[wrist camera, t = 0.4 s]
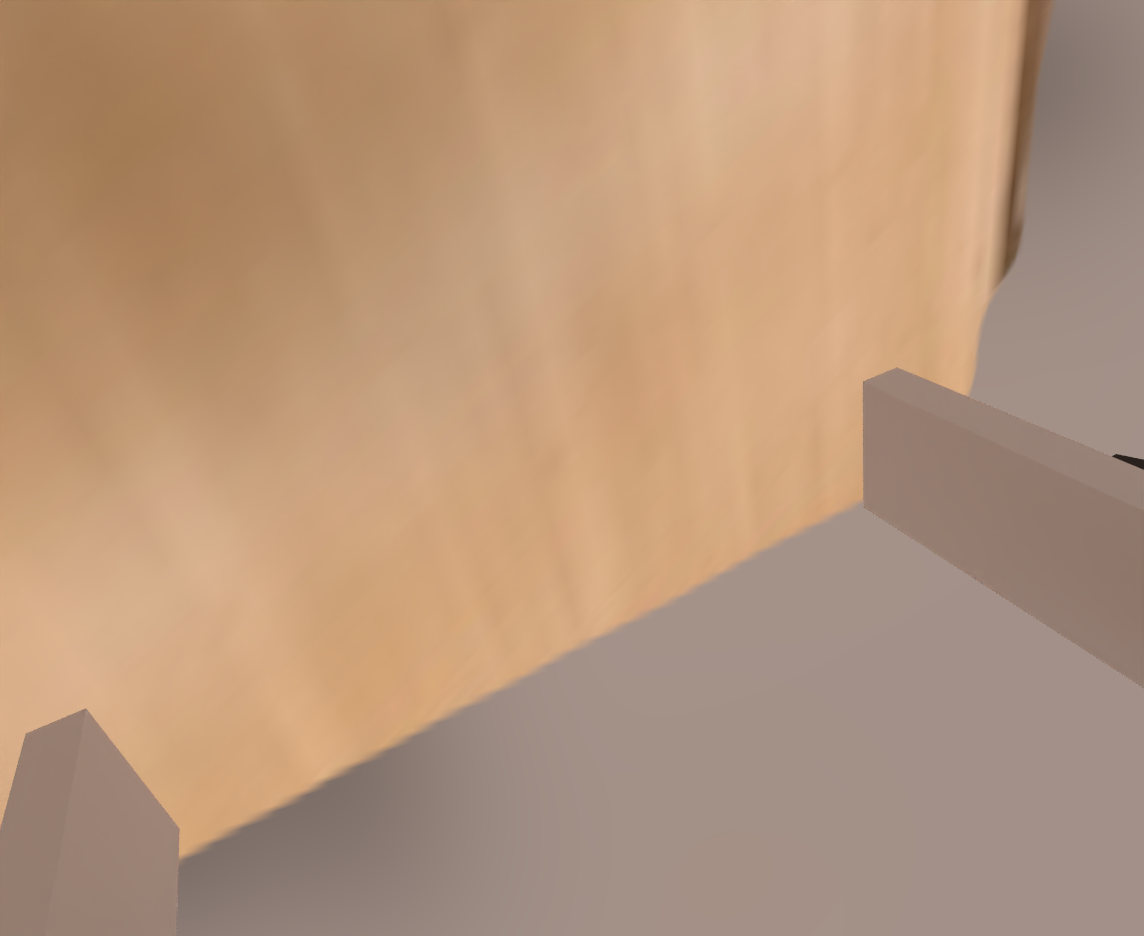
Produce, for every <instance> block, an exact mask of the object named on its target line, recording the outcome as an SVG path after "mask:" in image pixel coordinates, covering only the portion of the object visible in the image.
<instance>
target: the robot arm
mask: <svg viewBox="0 0 1144 936" xmlns="http://www.w3.org/2000/svg"><path fill="white" fill-rule="evenodd" d="M863 503H864V508H866V509H867V510H869V511H870V512H872V513H873V514H875V515H877V516H878V517H880V518H881V519H883V520H884V521H886V522H888V523H889V524H891V525H892V526H894V527H895V528H897V529H898V530H900V531H901V532H903V533H904V534H906V535H907V536H909V537H911V538H912V539H914V540H915V541H917V542H918V543H920V544H921V545H923V546H925V547H926V548H928V549H929V550H931V551H932V552H934V553H935V554H937V555H938V556H940V557H941V558H943V559H945V560H946V561H948V562H949V563H951V564H953V565H954V566H956V567H957V568H958V569H960V570H962V571H963V572H965V573H966V574H968V575H970V576H971V577H972V578H974V579H975V580H977V581H979V582H980V583H982V584H983V585H985V586H986V587H988V588H990V589H991V590H992V591H994V592H996V593H997V594H999V595H1000V596H1002V597H1003V598H1005V599H1006V600H1008V601H1009V602H1011V603H1013V604H1014V605H1016V606H1017V607H1019V608H1020V609H1022V610H1023V611H1025V612H1027V613H1028V614H1030V615H1031V616H1033V617H1035V618H1036V619H1037V620H1039V621H1040V622H1042V623H1043V624H1045V625H1047V626H1048V627H1050V628H1051V629H1053V630H1054V631H1056V632H1057V633H1059V634H1060V635H1062V636H1064V637H1065V638H1067V639H1068V640H1070V641H1072V642H1073V643H1074V644H1076V645H1078V646H1079V647H1081V648H1082V649H1084V650H1085V651H1087V652H1088V653H1090V654H1092V655H1093V656H1095V657H1096V658H1098V659H1099V660H1101V661H1102V662H1104V663H1105V664H1107V665H1108V666H1110V667H1111V668H1113V669H1115V670H1116V671H1118V672H1119V673H1121V674H1122V675H1124V676H1126V677H1127V678H1128V679H1130V680H1132V681H1133V682H1135V683H1136V684H1138V685H1139V686H1141V687H1142V688H1144V460H1142V459H1138V458H1132V457H1128V456H1122V455H1117V454H1116V455H1114V456H1109V455H1107V454H1104V453H1102V452H1099V451H1097V450H1095V449H1092V448H1090V447H1087V446H1085V445H1083V444H1080V443H1078V442H1075V441H1073V440H1070V439H1068V438H1066V437H1063V436H1061V435H1059V434H1056V433H1054V432H1051V431H1049V430H1046V429H1044V428H1042V427H1039V426H1037V425H1034V424H1032V423H1030V422H1027V421H1025V420H1022V419H1020V418H1018V417H1015V416H1013V415H1010V414H1008V413H1005V412H1003V411H1001V410H998V409H996V408H993V407H991V406H988V405H986V404H984V403H982V402H979V401H977V400H974V399H972V398H969V397H967V396H965V395H962V394H960V393H957V392H955V391H953V390H950V389H948V388H945V387H943V386H941V385H938V384H936V383H933V382H931V381H929V380H926V379H924V378H921V377H919V376H916V375H914V374H912V373H909V372H907V371H904V370H902V369H900V368H895V369H892V370H890V371H887V372H885V373H883V374H880V375H878V376H876V377H873V378H871V379H868V380H866V381H864V382H863ZM178 860H179V828H178V826H177V825H176V824H175V822H174V821H173V820H172V818H171V817H170V816H169V815H168V813H167V812H166V811H165V809H164V808H163V807H162V806H161V804H160V803H159V802H158V800H157V799H156V798H155V797H154V795H153V794H152V793H151V791H150V790H149V789H148V788H147V786H146V785H145V784H144V782H143V781H142V780H141V779H140V777H139V776H138V775H137V773H136V772H135V771H134V770H133V768H132V767H131V766H130V764H129V763H128V762H127V760H126V759H125V758H124V757H123V755H122V754H121V753H120V751H119V750H118V749H117V748H116V746H115V745H114V744H113V742H112V741H111V740H110V739H109V737H108V736H107V735H106V733H105V732H104V731H103V730H102V728H101V727H100V726H99V724H98V723H97V722H96V721H95V719H94V718H93V717H92V715H91V714H90V713H89V712H88V710H87V709H84V710H81V711H79V712H76V713H74V714H72V715H69V716H67V717H65V718H62V719H60V720H57V721H55V722H53V723H50V724H48V725H46V726H43V727H41V728H38V729H36V730H34V731H31V732H29V733H27V734H26V735H25V739H24V742H23V746H22V750H21V754H20V757H19V761H18V765H17V768H16V772H15V776H14V780H13V783H12V787H11V791H10V795H9V798H8V802H7V806H6V810H5V813H4V817H3V821H2V825H1V828H0V936H176V929H177V928H176V927H177V895H178V894H177V893H178Z"/></svg>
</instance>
